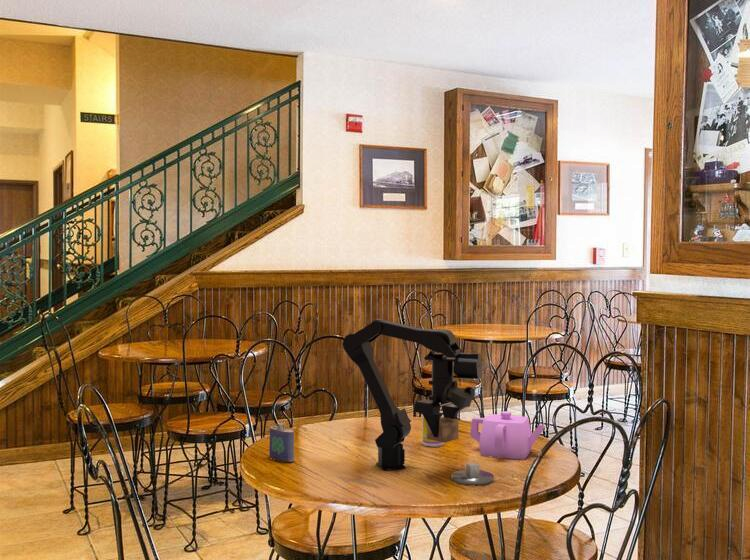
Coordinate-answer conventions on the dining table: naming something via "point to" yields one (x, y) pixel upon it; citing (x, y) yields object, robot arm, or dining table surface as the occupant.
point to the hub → (472, 475)
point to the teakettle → (505, 435)
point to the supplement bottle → (424, 435)
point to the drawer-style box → (445, 430)
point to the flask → (281, 443)
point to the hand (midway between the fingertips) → (442, 434)
